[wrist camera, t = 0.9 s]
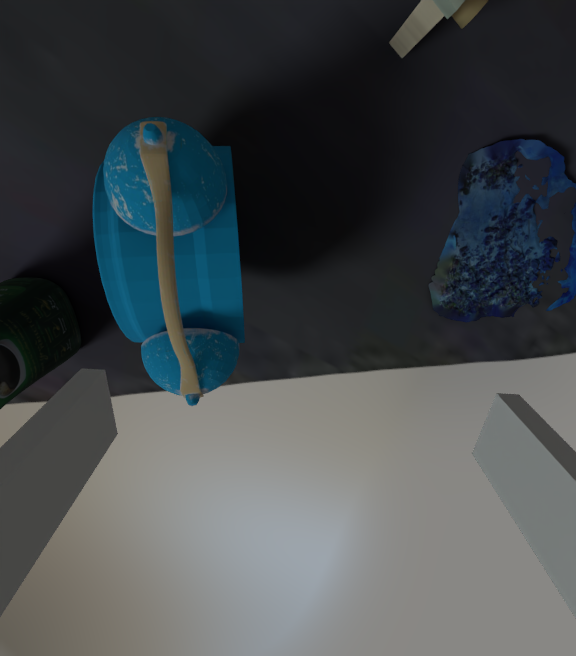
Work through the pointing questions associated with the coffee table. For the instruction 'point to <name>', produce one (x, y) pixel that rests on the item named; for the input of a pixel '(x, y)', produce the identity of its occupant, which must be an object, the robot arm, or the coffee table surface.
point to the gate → (432, 20)
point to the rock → (499, 237)
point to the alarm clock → (171, 252)
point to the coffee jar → (33, 332)
